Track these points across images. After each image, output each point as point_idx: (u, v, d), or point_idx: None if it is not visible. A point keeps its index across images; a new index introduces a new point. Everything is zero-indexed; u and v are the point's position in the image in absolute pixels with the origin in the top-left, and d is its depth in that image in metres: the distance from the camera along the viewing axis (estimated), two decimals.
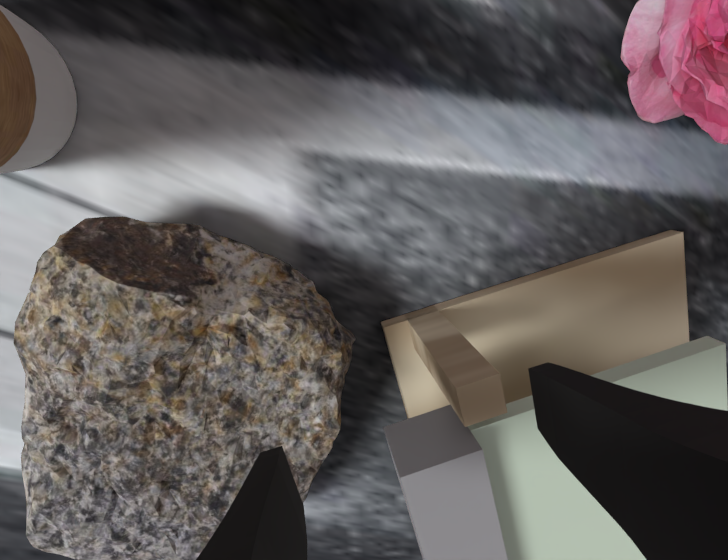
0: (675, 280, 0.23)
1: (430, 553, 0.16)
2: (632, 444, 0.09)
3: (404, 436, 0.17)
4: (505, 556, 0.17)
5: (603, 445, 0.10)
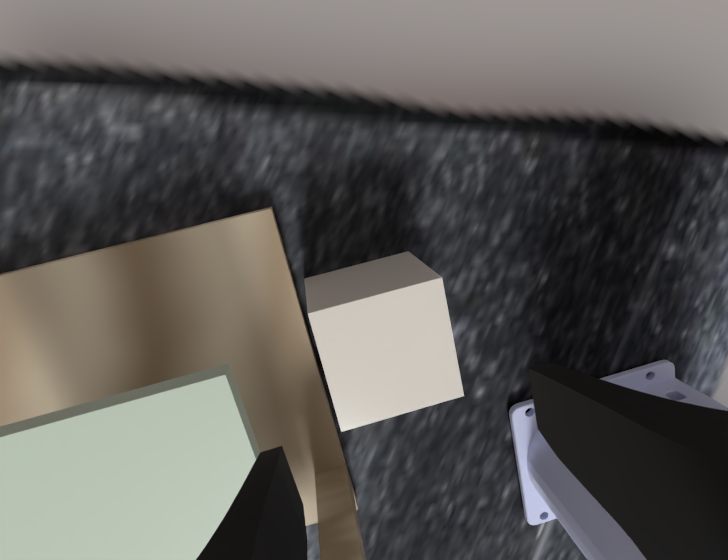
0: None
1: None
2: (632, 444, 0.09)
3: None
4: None
5: (603, 445, 0.10)
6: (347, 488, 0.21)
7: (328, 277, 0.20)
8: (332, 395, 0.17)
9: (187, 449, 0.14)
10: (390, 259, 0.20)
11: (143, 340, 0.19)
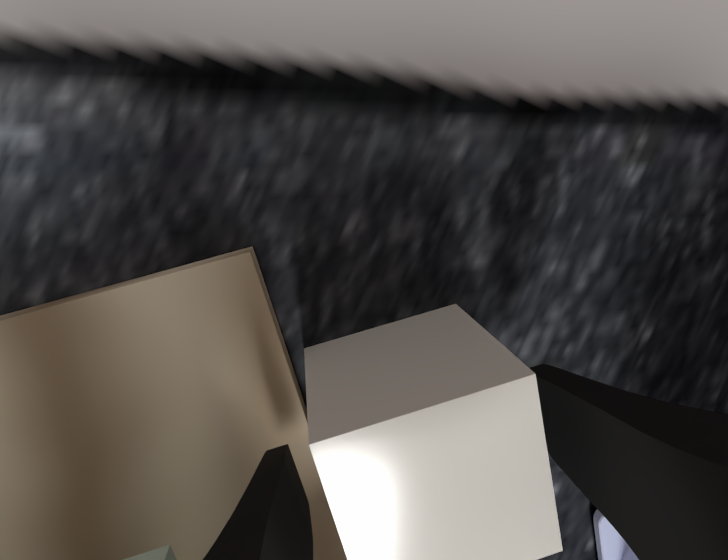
0: None
1: None
2: (625, 446, 0.09)
3: None
4: None
5: (597, 447, 0.10)
6: None
7: (340, 350, 0.13)
8: None
9: None
10: (431, 319, 0.14)
11: (61, 452, 0.13)
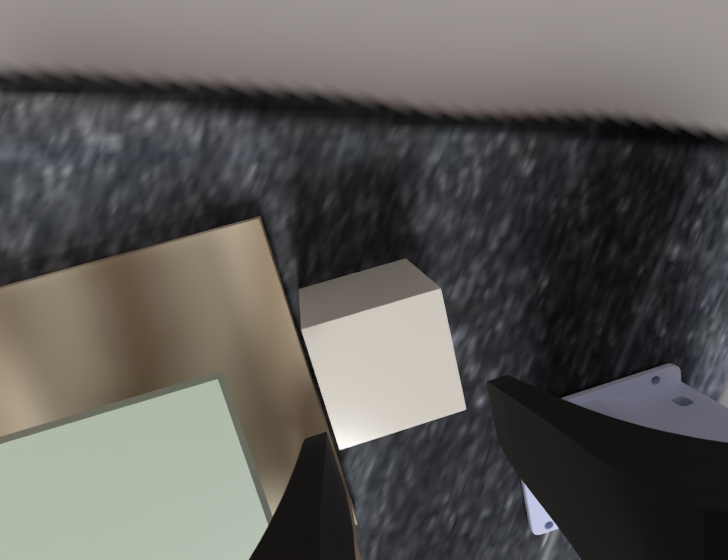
0: None
1: None
2: (574, 463, 0.09)
3: None
4: None
5: (552, 462, 0.10)
6: None
7: (323, 287, 0.19)
8: (329, 413, 0.16)
9: (181, 456, 0.14)
10: (387, 267, 0.19)
11: (130, 357, 0.18)
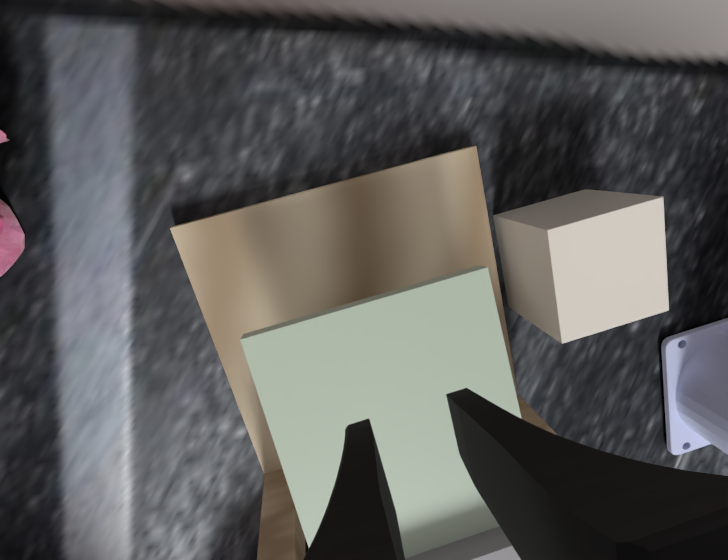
0: (231, 226, 0.19)
1: None
2: (518, 482, 0.09)
3: None
4: None
5: (501, 479, 0.10)
6: (531, 410, 0.22)
7: (522, 211, 0.21)
8: (558, 308, 0.18)
9: (452, 335, 0.17)
10: (574, 195, 0.22)
11: (355, 271, 0.21)
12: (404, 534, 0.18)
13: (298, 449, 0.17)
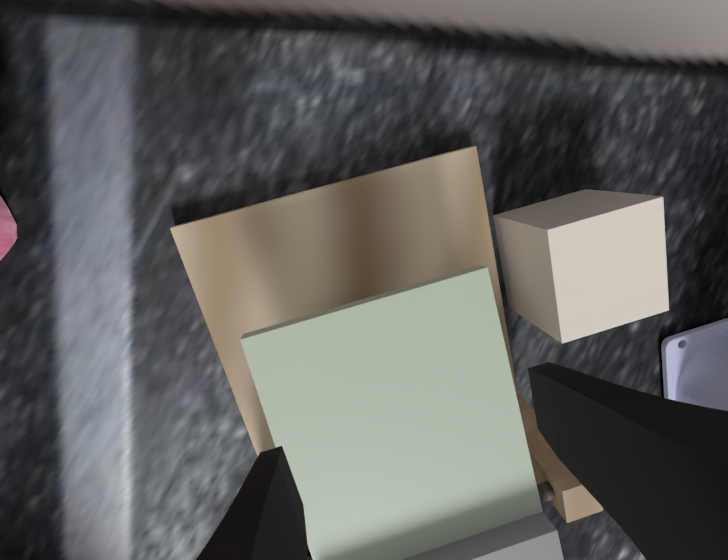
0: (231, 226, 0.19)
1: None
2: (632, 444, 0.09)
3: None
4: None
5: (603, 445, 0.10)
6: (531, 410, 0.22)
7: (522, 211, 0.21)
8: (558, 308, 0.18)
9: (452, 335, 0.17)
10: (574, 195, 0.22)
11: (355, 271, 0.21)
12: (404, 534, 0.18)
13: (298, 449, 0.17)
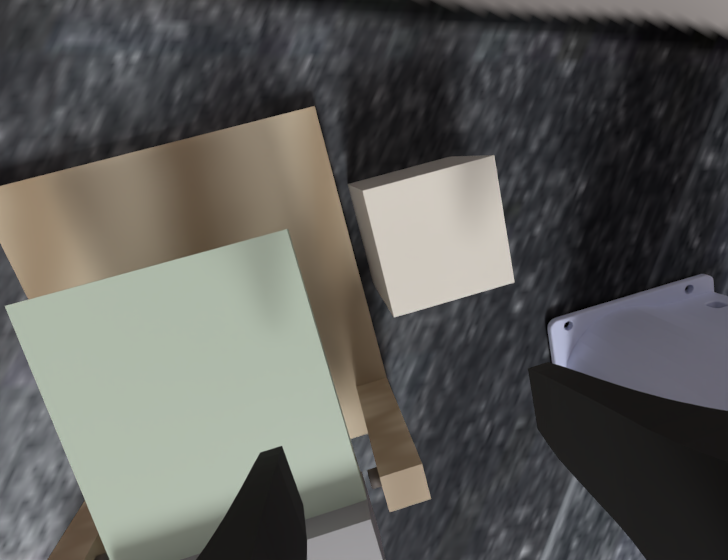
0: (44, 191, 0.18)
1: None
2: (632, 444, 0.09)
3: None
4: None
5: (603, 445, 0.10)
6: (391, 393, 0.21)
7: (373, 178, 0.20)
8: (385, 278, 0.17)
9: (251, 303, 0.15)
10: (433, 162, 0.20)
11: (190, 241, 0.19)
12: (209, 523, 0.16)
13: (80, 428, 0.15)
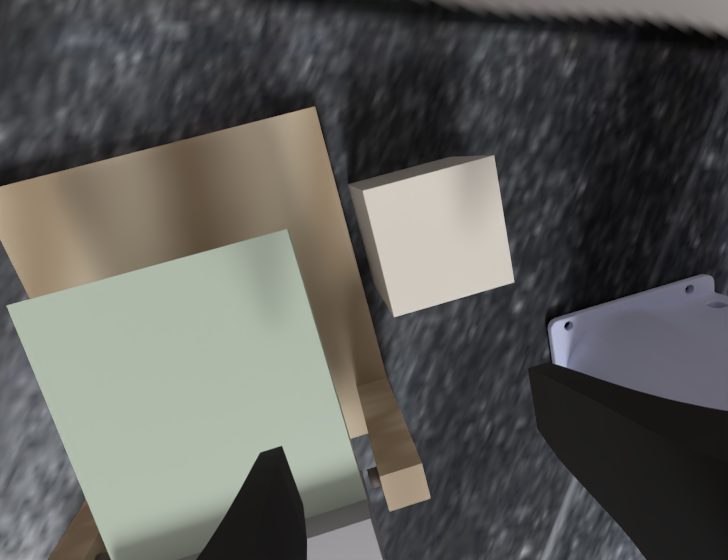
0: (45, 191, 0.18)
1: None
2: (632, 444, 0.09)
3: None
4: None
5: (603, 445, 0.10)
6: (391, 393, 0.21)
7: (373, 179, 0.20)
8: (385, 278, 0.17)
9: (251, 303, 0.15)
10: (433, 162, 0.20)
11: (191, 241, 0.19)
12: (210, 522, 0.16)
13: (81, 427, 0.15)
